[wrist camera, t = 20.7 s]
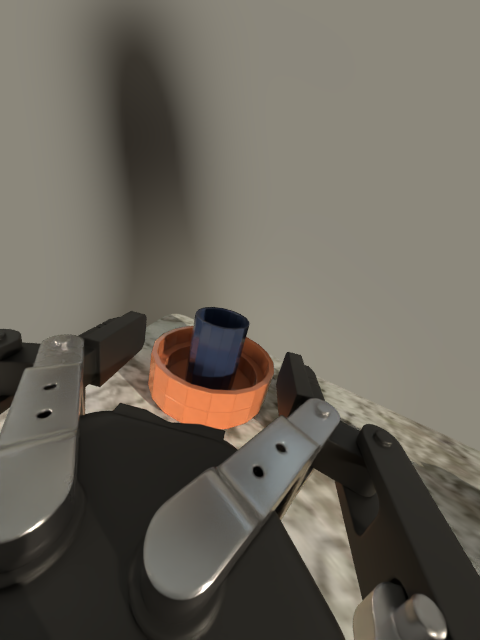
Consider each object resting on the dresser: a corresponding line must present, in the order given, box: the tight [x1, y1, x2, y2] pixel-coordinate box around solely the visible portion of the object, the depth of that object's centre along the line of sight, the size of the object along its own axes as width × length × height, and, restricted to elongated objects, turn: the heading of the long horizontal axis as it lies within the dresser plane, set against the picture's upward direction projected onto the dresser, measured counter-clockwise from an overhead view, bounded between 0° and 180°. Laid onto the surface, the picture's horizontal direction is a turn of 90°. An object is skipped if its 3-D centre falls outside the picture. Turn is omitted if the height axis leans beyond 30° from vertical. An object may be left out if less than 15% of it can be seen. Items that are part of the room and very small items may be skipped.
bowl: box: [148, 326, 274, 429], centre depth 27 cm, size 14×14×5 cm
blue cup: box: [185, 307, 249, 390], centre depth 26 cm, size 6×6×9 cm
